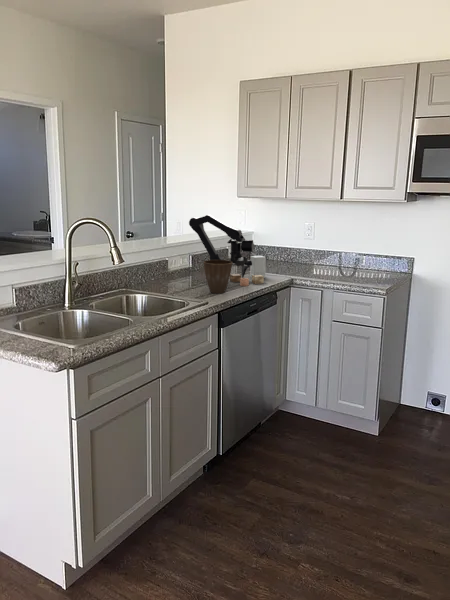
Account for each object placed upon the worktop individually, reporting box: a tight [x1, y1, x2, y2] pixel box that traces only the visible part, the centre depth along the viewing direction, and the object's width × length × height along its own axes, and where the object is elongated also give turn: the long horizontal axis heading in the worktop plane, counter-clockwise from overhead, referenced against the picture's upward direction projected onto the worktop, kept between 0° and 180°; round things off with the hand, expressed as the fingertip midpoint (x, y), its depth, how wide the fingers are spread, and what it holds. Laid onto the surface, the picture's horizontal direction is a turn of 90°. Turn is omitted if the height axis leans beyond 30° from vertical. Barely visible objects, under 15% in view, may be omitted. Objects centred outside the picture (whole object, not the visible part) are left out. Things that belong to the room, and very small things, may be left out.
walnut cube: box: [229, 273, 242, 283], centre depth 294 cm, size 5×5×4 cm
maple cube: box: [251, 275, 265, 285], centre depth 289 cm, size 5×5×4 cm
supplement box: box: [249, 255, 267, 279], centre depth 307 cm, size 7×7×13 cm
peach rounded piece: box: [239, 277, 250, 287], centre depth 282 cm, size 5×5×4 cm
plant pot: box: [203, 259, 233, 294], centre depth 264 cm, size 15×15×16 cm
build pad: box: [249, 280, 269, 286], centre depth 290 cm, size 9×9×1 cm
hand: (235, 278), depth 294 cm, fingers open, 9 cm apart
